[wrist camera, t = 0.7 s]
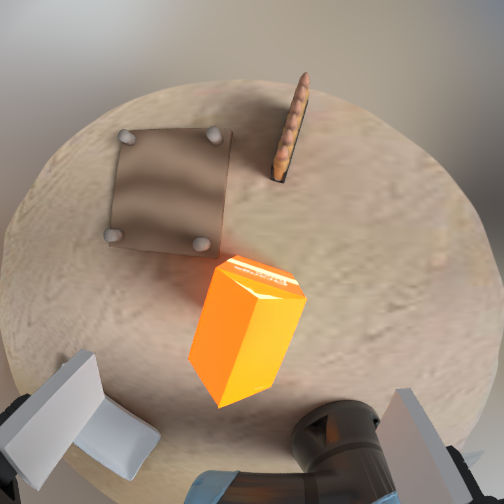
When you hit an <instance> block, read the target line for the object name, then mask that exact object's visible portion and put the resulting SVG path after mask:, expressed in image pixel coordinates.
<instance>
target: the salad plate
mask: <svg viewBox="0 0 504 504" xmlns="http://www.w3.org/2000/svg"><path fill="white" fill-rule="evenodd" d="M64 364H65V363H63V364H62V366H63V365H64ZM62 366H61V367H62ZM104 396H105V399H104V400H103V401H102V403H101V404H100V405H99V407H98V408H97V409H96V411H95V412H94V413H93V415H92V416H91V417H90V419H89V420H88V422H87V423H86V424H85V426H84V427H83V428H82V430H81V431H80V432H79V434H78V435H77V437H76V438H75V439H74V441H73V443H74V444H75V445H76V446H78V447H79V448H80V449H82V450H83V451H84V452H86V453H87V454H88V455H90V456H91V457H92V458H94V459H95V460H97V461H98V462H99V463H101V464H102V465H104V466H105V467H107V468H108V469H110V470H111V471H113V472H115V473H116V474H118V475H119V476H121V477H123V478H125V479H127V480H129V481H131V480H133V478H134V477H135V475H136V473H137V472H138V470H139V468H140V467H141V465H142V463H143V462H144V461H145V459H146V458H147V456H148V455H149V454H150V453H151V451H152V450H153V449H154V447H155V446H156V445H157V443H158V442H159V441H160V439H161V434H160V432H159V431H158V430H157V429H156V428H154V427H153V426H152V425H150V424H148V423H147V422H145V421H143V420H142V419H140V418H138V417H137V416H135V415H134V414H132V413H131V412H129V411H128V410H126V409H125V408H123V407H122V406H120V405H119V404H118V403H116V402H115V401H114V400H112V399H111V398H110V397H108V396H107V395H106V394H104Z"/></svg>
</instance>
